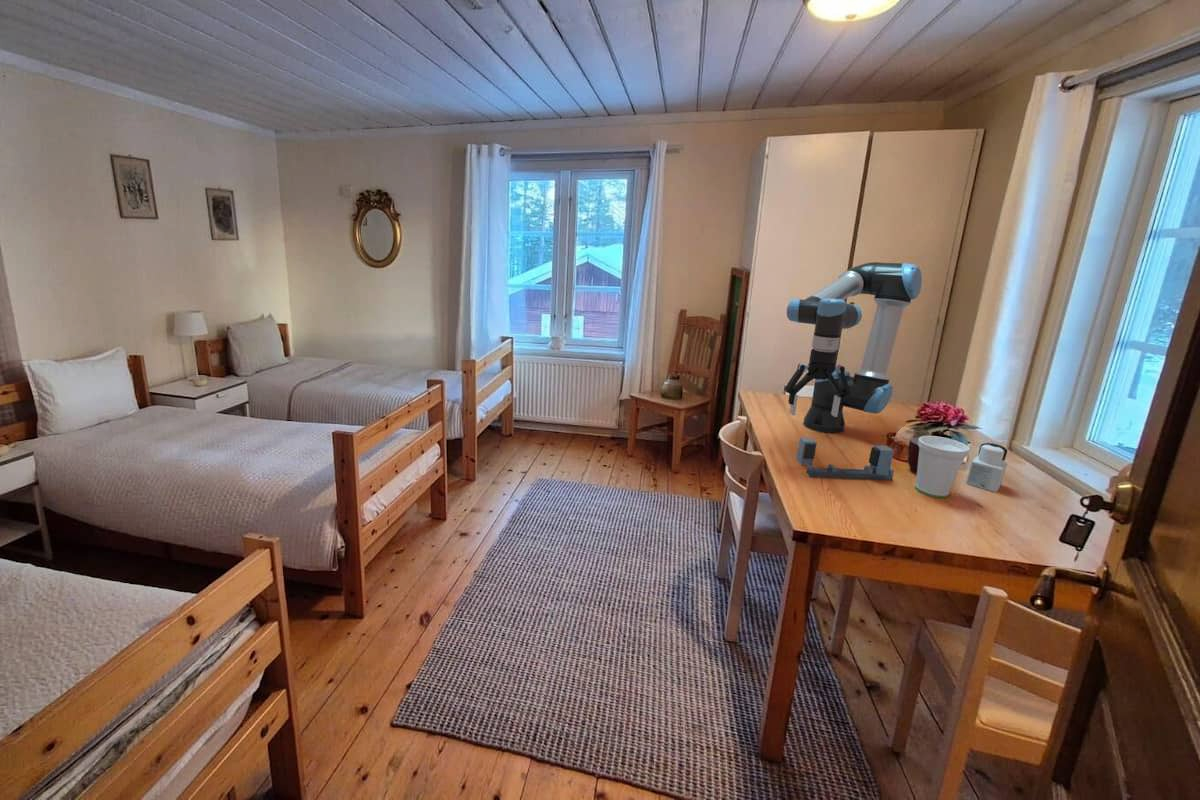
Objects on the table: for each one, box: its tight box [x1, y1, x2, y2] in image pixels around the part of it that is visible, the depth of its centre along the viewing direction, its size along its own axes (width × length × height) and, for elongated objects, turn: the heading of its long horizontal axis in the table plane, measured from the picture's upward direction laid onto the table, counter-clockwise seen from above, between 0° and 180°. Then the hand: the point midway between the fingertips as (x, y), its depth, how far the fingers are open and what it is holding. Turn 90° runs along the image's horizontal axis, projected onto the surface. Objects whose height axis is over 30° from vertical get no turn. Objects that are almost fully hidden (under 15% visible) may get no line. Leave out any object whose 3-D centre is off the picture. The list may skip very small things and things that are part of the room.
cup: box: [914, 435, 970, 499], centre depth 148 cm, size 12×12×15 cm
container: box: [966, 442, 1008, 493], centre depth 154 cm, size 8×8×13 cm
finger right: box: [795, 437, 818, 466], centre depth 165 cm, size 4×5×8 cm
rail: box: [805, 444, 895, 481], centre depth 156 cm, size 4×26×10 cm, turn 90°
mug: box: [907, 437, 920, 474], centre depth 161 cm, size 10×8×10 cm
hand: (813, 414), depth 162 cm, fingers open, 13 cm apart
